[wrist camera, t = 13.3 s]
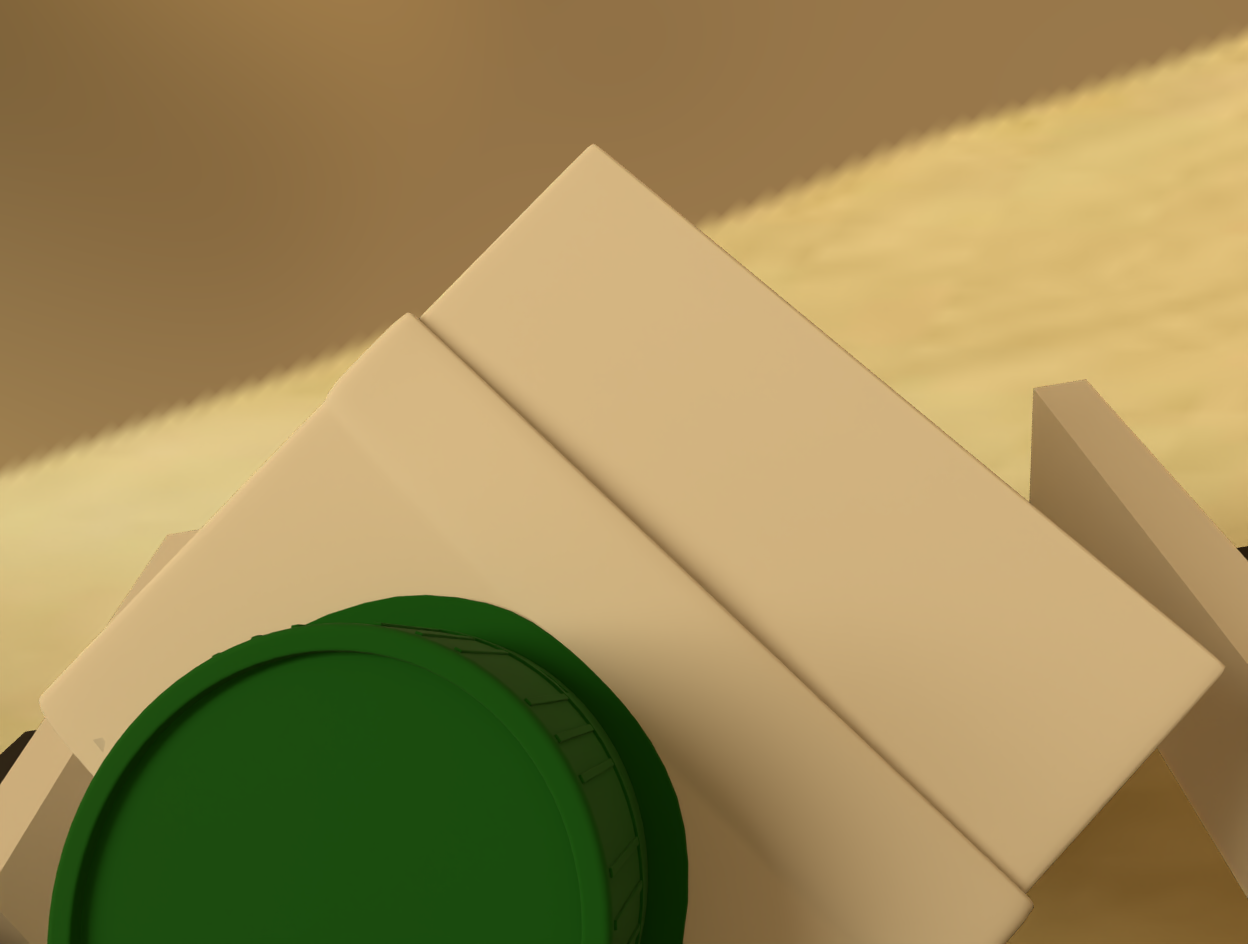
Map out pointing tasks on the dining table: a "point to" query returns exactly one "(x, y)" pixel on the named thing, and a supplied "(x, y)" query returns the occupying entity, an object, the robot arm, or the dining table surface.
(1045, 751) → the soya milk
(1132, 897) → the dining table surface
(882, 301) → the dining table surface
